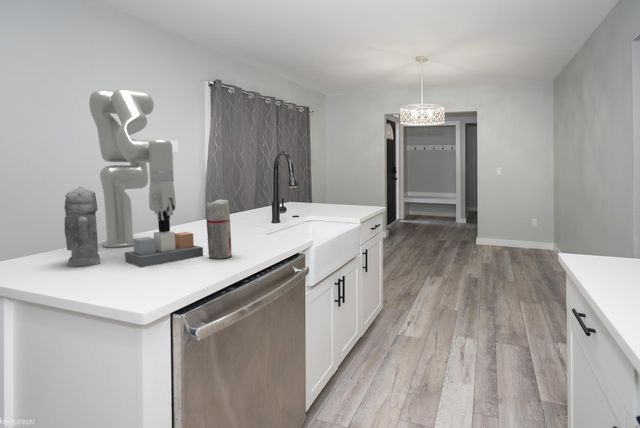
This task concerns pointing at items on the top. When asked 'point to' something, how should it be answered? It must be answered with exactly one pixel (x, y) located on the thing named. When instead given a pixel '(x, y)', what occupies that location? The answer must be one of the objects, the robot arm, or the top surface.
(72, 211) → the figurine
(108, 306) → the top surface
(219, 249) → the spray can
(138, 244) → the slate key
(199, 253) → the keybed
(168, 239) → the ivory key
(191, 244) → the terracotta key
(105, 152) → the robot arm
